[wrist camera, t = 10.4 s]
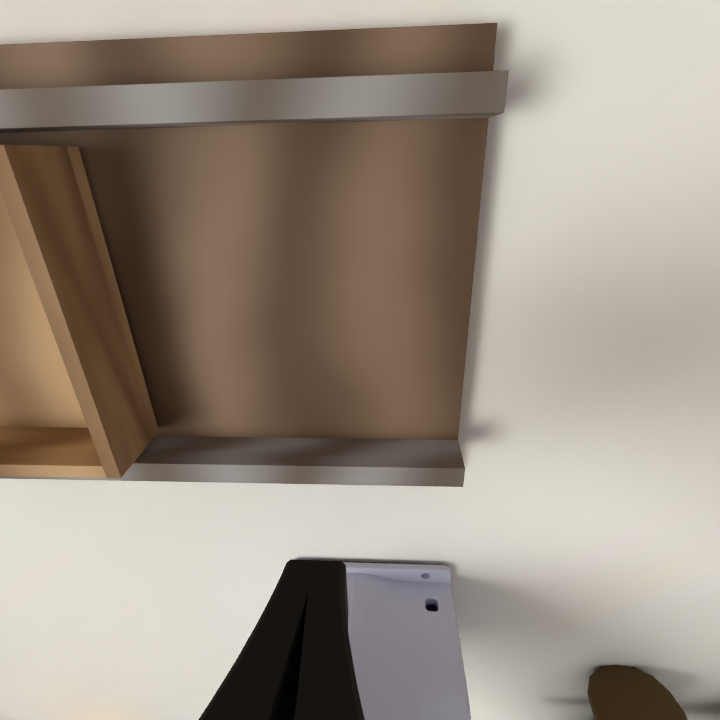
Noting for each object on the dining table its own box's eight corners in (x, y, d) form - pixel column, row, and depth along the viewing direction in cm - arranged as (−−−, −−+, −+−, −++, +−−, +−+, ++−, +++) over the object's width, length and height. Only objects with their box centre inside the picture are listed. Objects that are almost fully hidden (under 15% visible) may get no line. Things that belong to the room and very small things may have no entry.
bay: (489, 31, 14) (558, -48, 8) (450, 467, 22) (472, 571, 16) (-245, 62, 15) (-592, 12, 10) (-30, 460, 23) (-156, 553, 18)
